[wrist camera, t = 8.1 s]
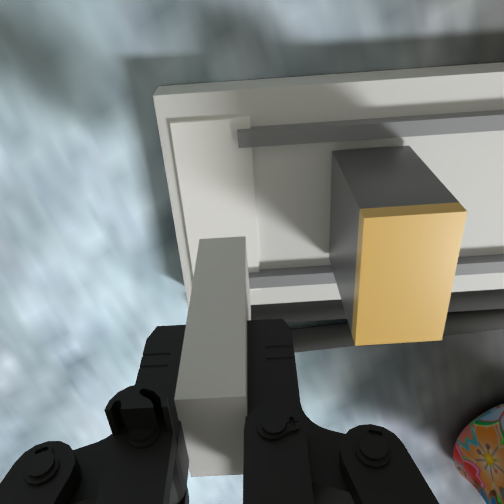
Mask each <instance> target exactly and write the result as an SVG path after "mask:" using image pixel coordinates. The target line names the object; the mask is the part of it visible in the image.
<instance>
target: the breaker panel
mask: <svg viewBox="0 0 504 504" xmlns="http://www.w3.org/2000/svg"><path fill="white" fill-rule="evenodd" d="M153 99H154V105H155V111H156V117H157V123H158V129H159V135H160V141H161V147H162V153H163V159H164V165H165V171H166V177H167V183H168V189H169V195H170V201H171V207H172V213H173V219H174V225H175V231H176V237H177V243H178V249H179V255H180V261H181V267H182V273H183V279H184V285H185V291H186V297H187V303H188V309H189V303H190V296H191V290H192V284H193V277H194V271H195V265H196V258H197V252H198V245H199V239H208V238H225V237H242V236H246V249H247V261H248V274H249V287H250V299H251V305H260V304H275V303H291V302H306V301H322V300H338V299H341V297H340V294H339V290H338V287H337V283H336V280H335V277H334V273H333V270H332V267H331V263H330V260H329V241H330V206H331V171H332V151H335V150H350V149H365V148H380V147H395V146H410V147H411V148H412V149H413V150H414V152H415V153H416V154H417V155H418V156H419V157H420V158H421V160H422V161H423V162H424V163H425V164H426V165H427V166H428V167H429V169H430V170H431V171H432V172H433V173H434V174H435V175H436V176H437V178H438V179H439V180H440V181H441V182H442V183H443V184H444V186H445V187H446V188H447V189H448V190H449V191H450V192H451V193H452V195H453V196H454V197H455V198H456V199H457V200H458V201H459V202H460V204H461V205H462V206H463V207H464V208H465V209H466V210H467V216H466V221H465V226H464V231H463V236H462V241H461V246H460V251H459V256H458V261H457V267H456V272H455V277H454V282H453V287H452V292H463V291H478V290H494V289H504V62H500V63H486V64H471V65H457V66H442V67H428V68H413V69H399V70H384V71H370V72H355V73H341V74H327V75H312V76H298V77H283V78H269V79H254V80H240V81H225V82H211V83H196V84H182V85H167V86H158V88H157V90H156V91H155V93H154V95H153Z"/></svg>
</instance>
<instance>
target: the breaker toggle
mask: <svg viewBox="0 0 504 504" xmlns="http://www.w3.org/2000/svg"><path fill="white" fill-rule="evenodd" d="M466 216H467V210H466V209H465V208H464V207H463V206H462V205H461V204H460V202H459V201H458V200H457V199H456V198H455V197H454V196H453V195H452V193H451V192H450V191H449V190H448V189H447V188H446V187H445V186H444V184H443V183H442V182H441V181H440V180H439V179H438V178H437V176H436V175H435V174H434V173H433V172H432V171H431V170H430V169H429V167H428V166H427V165H426V164H425V163H424V162H423V161H422V160H421V158H420V157H419V156H418V155H417V154H416V153H415V152H414V150H413V149H412V148H411V147H410V146H395V147H380V148H365V149H350V150H335V151H332V171H331V206H330V241H329V260H330V263H331V267H332V270H333V273H334V277H335V280H336V283H337V287H338V290H339V294H340V297H341V300H342V304H343V307H344V310H345V314H346V317H347V320H348V324H349V327H350V330H351V334H352V337H353V340H354V344H355V346H360V345H375V344H391V343H407V342H423V341H439V340H442V337H443V332H444V327H445V322H446V317H447V312H448V307H449V302H450V297H451V292H452V287H453V282H454V277H455V272H456V267H457V261H458V256H459V251H460V246H461V241H462V236H463V231H464V226H465V221H466Z"/></svg>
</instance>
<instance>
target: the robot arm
mask: <svg viewBox="0 0 504 504" xmlns="http://www.w3.org/2000/svg"><path fill="white" fill-rule="evenodd" d="M105 413H106V416H107V419H108V422H109V425H110V428H111V431H112V434H111V435H110V436H108V437H107V438H105V439H103V440H101V441H99V442H96V443H94V444H91V445H88V446H85V447H82V448H79V449H76V450H72V449H71V447H70V446H69V445H68V444H65V443H63V442H61V441H48V442H45V443H42V444H39V445H36V446H34V447H33V448H31V449H29V450H28V451H26V452H25V453H24V454H23V455H22V456H21V457H20V458H19V459H18V460H17V461H16V462H15V463H14V465H13V466H12V468H11V469H10V470H9V472H8V473H7V475H6V476H5V478H4V479H3V480H2V482H1V483H0V504H189V494H188V488H187V477H188V468H189V470H190V475H191V477H196V476H218V475H239V474H243V504H439V502H438V501H437V499H436V497H435V496H434V494H433V492H432V491H431V489H430V488H429V486H428V484H427V483H426V481H425V479H424V478H423V476H422V474H421V473H420V471H419V469H418V468H417V466H416V464H415V463H414V461H413V459H412V458H411V456H410V454H409V453H408V451H407V449H406V448H405V446H404V444H403V443H402V442H401V441H400V439H399V438H398V437H397V436H396V435H395V434H394V433H392V432H391V431H389V430H387V429H386V428H384V427H380V426H376V425H372V424H368V425H359V426H357V427H355V428H352V429H350V430H349V431H348V432H347V433H346V434H343V433H339V432H335V431H331V430H327V429H325V428H322V427H320V426H318V425H316V424H315V423H313V422H312V421H311V420H310V419H309V418H308V417H307V416H306V415H305V413H304V412H303V410H302V407H301V403H300V397H299V388H298V380H297V371H296V363H295V355H294V347H293V338H292V330H291V329H290V328H289V326H288V325H287V324H286V322H285V321H284V320H283V318H282V319H263V320H251V299H250V287H249V274H248V261H247V249H246V236H242V237H225V238H208V239H199V245H198V252H197V258H196V265H195V271H194V277H193V284H192V290H191V296H190V303H189V309H188V315H187V322H186V325H173V326H157V327H156V328H155V330H154V331H153V332H152V333H151V335H150V336H149V337H148V338H147V340H146V344H145V348H144V352H143V357H142V360H141V364H140V369H139V372H138V376H137V380H136V384H135V385H134V386H130V387H128V388H126V389H124V390H122V391H120V392H118V393H117V394H116V395H115V396H114V397H113V398H112V399H111V400H110V401H109V403H108V404H107V406H106V408H105Z"/></svg>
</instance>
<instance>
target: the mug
mask: <svg viewBox="0 0 504 504" xmlns="http://www.w3.org/2000/svg"><path fill="white" fill-rule="evenodd" d="M453 459H454V463H455V466H456V468H457V470H458V471H459V472H460V474H461V475H462V476H463V477H465V478H466V479H467V480H468V481H469V482H470V483H471V484H472V485H473V486H474V487H475V488H476V489H477V491H478V492H479V493H480V494H481V496H482V497H483V499H484V500H485V502H486V503H487V504H504V403H503V404H501V405H498V406H496V407H494V408H491V409H490V410H488V411H486V412H484V413H483V414H481V415H479V416H478V417H477V418H475V419H474V420H473V421H471V422H470V423H469V424H468V425H467V426H466V427H465V428H464V429H463V431H462V432H461V433H460V435H459V436H458V438H457V440H456V443H455V446H454V450H453Z"/></svg>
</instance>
